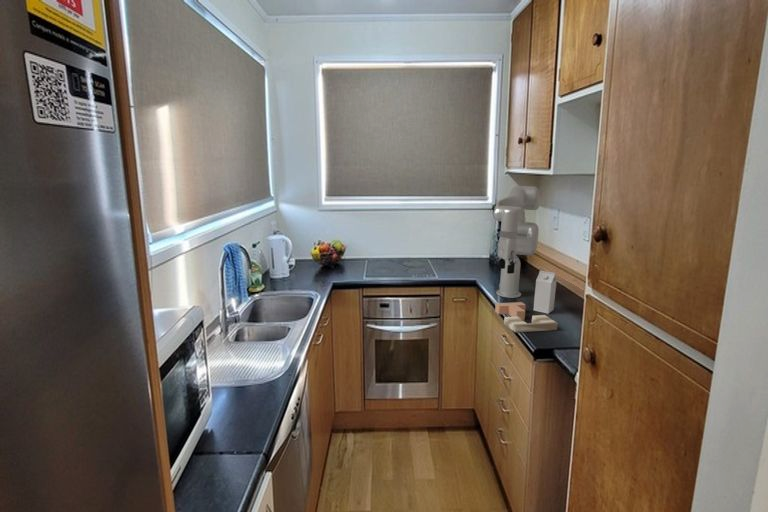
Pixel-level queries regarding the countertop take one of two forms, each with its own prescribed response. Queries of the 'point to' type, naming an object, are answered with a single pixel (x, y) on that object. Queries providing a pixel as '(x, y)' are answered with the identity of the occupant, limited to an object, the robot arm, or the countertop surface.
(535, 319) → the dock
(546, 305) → the milk carton
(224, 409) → the countertop surface
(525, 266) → the countertop surface
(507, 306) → the t block
